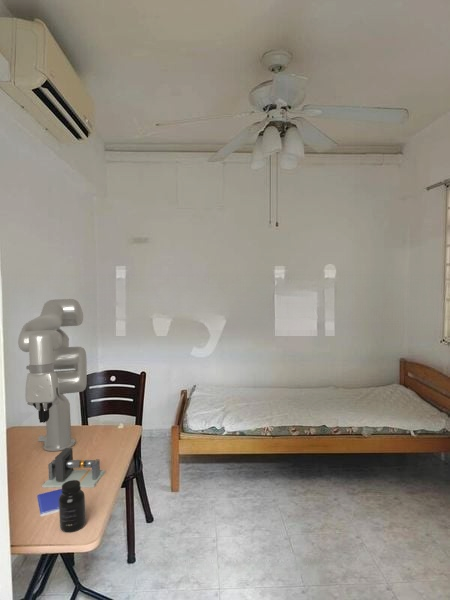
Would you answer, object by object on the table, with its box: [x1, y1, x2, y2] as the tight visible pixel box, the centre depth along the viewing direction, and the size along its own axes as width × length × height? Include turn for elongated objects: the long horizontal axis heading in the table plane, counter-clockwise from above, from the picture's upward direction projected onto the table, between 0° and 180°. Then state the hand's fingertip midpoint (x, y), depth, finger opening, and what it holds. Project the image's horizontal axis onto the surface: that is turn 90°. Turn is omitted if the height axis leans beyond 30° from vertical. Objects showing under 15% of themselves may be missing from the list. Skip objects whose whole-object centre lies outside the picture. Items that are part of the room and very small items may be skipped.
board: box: [41, 469, 106, 489], centre depth 141 cm, size 18×11×1 cm, turn 87°
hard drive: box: [36, 488, 62, 517], centre depth 126 cm, size 2×8×12 cm
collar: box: [54, 447, 74, 481], centre depth 141 cm, size 2×8×8 cm, turn 177°
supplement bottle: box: [58, 480, 87, 533], centre depth 113 cm, size 7×7×12 cm
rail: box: [47, 458, 101, 480], centre depth 140 cm, size 16×4×6 cm, turn 87°
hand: (44, 421), depth 140 cm, fingers closed
